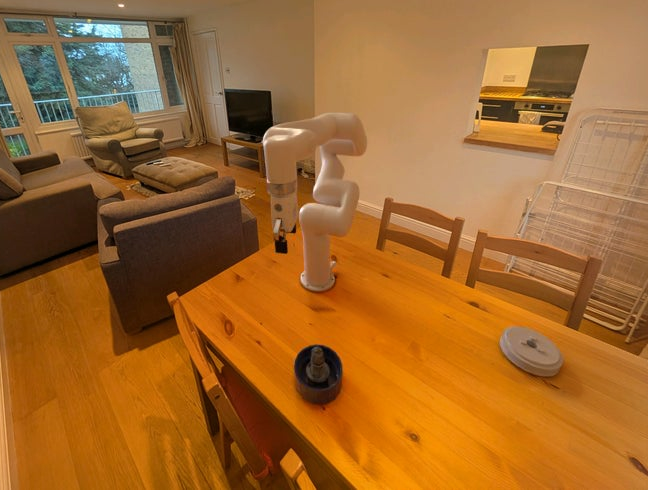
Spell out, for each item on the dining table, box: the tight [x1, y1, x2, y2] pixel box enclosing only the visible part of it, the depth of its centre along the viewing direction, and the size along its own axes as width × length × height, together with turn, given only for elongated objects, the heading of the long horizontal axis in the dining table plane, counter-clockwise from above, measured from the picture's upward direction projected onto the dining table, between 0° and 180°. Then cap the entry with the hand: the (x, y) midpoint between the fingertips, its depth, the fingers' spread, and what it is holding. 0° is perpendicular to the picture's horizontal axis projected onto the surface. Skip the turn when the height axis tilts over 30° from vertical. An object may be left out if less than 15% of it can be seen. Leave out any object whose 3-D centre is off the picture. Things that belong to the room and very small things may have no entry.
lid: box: [499, 325, 564, 378], centre depth 77 cm, size 13×13×5 cm
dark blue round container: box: [293, 344, 344, 406], centre depth 74 cm, size 12×12×6 cm
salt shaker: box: [306, 347, 330, 389], centre depth 73 cm, size 6×6×12 cm
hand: (286, 242), depth 81 cm, fingers open, 9 cm apart
